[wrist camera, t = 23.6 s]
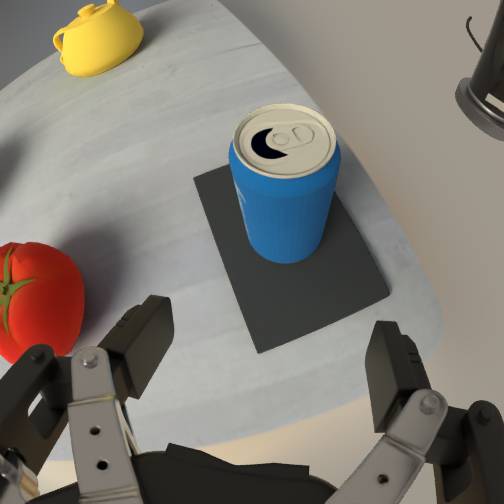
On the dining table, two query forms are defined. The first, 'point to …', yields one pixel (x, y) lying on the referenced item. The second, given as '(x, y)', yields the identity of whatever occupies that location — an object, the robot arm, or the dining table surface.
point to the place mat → (290, 270)
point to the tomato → (38, 299)
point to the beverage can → (284, 178)
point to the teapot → (98, 39)
